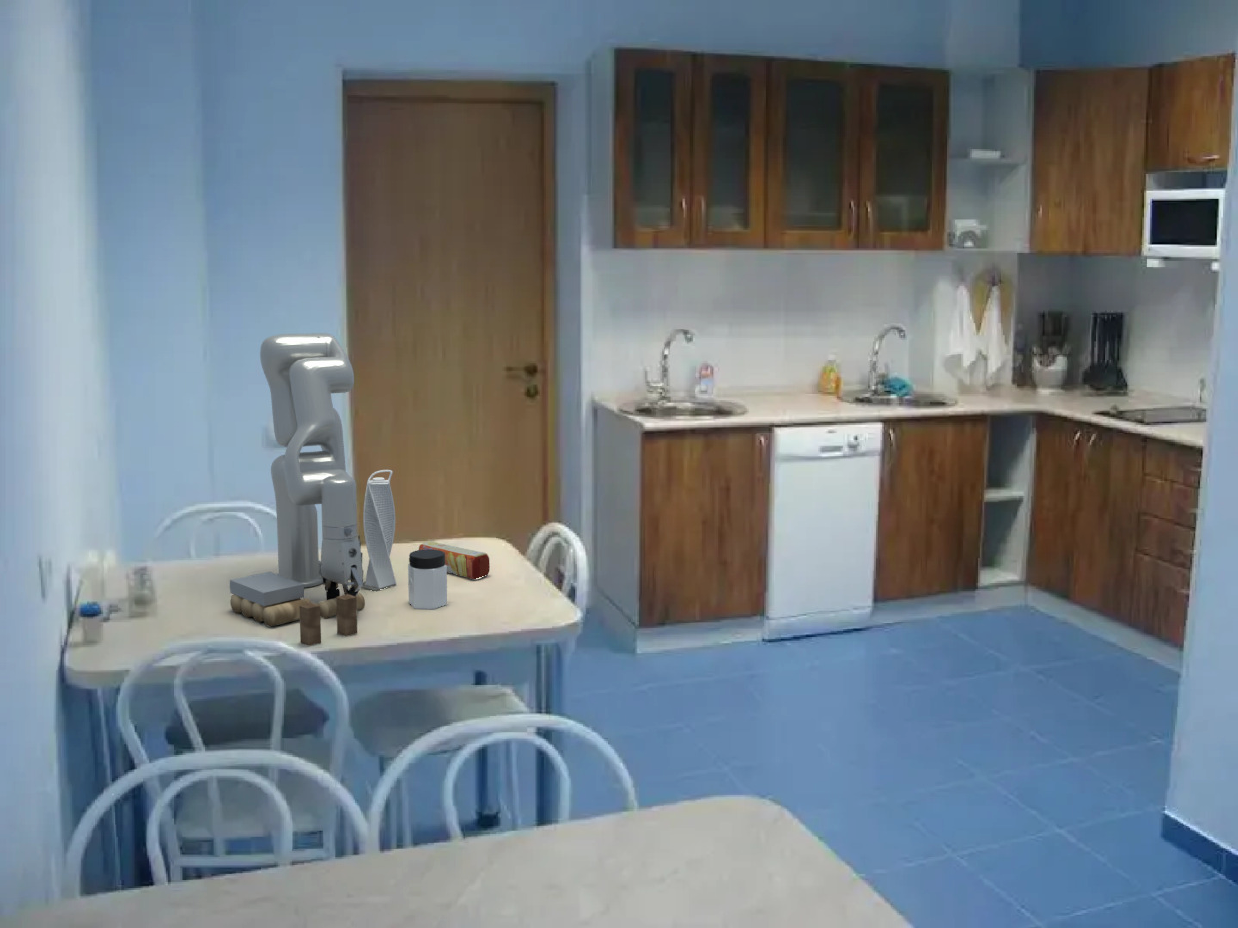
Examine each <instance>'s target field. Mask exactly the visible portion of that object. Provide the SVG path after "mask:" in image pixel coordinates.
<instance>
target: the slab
mask: <svg viewBox="0 0 1238 928" xmlns="http://www.w3.org/2000/svg"><path fill="white" fill-rule="evenodd" d="M277 574H278V573H274V572H272V571H266V572H262V573H256V574H253V575H247V576H242V577H238V578H232V579H229V593H230V594H232V595H237V596H239V597H242V598H244V599H247V600H249V601H252V602H254V603H257V604H259V605H262V606H268V605H272V604H276V603H281V602H285V601H289V600H294V599H298V598H300V599H301V598H302V599H304V597H305V588H304V584H302V583H299V582H297V581H294V580H291V579H288V578H285V577H283V576H280V575H277Z"/></svg>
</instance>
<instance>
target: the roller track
mask: <svg viewBox="0 0 1238 928" xmlns="http://www.w3.org/2000/svg"><path fill="white" fill-rule="evenodd" d="M229 602H230V607H231V609H232V612H234V613H236V614H238V613H239V614H240V613H242V615H243V616H244V617H245V618H246V619H247V618H253V619H254V621H255V622H257V623H261V622H264V624H265V625H266V626H267V627H269V628H270V627H274V626H278V625H283V624H287V623H291V622H295V621H300V607H299V605H304V604H308V603H313V602H312V601H311V599H310V598H308V597H307V598H302V599H301V598H298V599H294V600H289V601H285V602H281V603H276V604H272V605H268V606H262V605H259V604H257V603H254V602H252V601H249V600H247V599H244V598H242V597H239V596H237V595H234V594H232V595H231V596H230V599H229Z"/></svg>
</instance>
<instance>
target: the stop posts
mask: <svg viewBox="0 0 1238 928" xmlns="http://www.w3.org/2000/svg"><path fill="white" fill-rule="evenodd" d="M336 603H337V615H336V632H337V633H336V634H338V635H340V636H344V637H348V636H352V635H356V634H358V610H357V597H355V596H352V595H349V594H347V595H344V594H343V595H340V596H338V597H336ZM299 607H300V620H299V632H300V643H301V644H303V645H305V646H308V647H310V646H314V645H318V644H321V643H322V629H321V627H322V626H321V623H322V622H321V617H320V605H318V603H314V602H312V603H308V604H304V605H299Z"/></svg>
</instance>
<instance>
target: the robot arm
mask: <svg viewBox="0 0 1238 928" xmlns="http://www.w3.org/2000/svg"><path fill="white" fill-rule="evenodd" d="M259 355H260V356H259V357H260V364H261V368H262V371H263V374H264V377H265V378H266V381H267V383H268V386H269V391H270V397H271V399H270V400H271V409H272V411H271V412H272V423H273V431H274V432H273V433H274V437H275V441H276V442H277V444H278V445H279V446H281V447H284V448H286V449H285V452H284V454H281V455H279V456H277V457H276V458H275V459H274V460H273V461H272V463H271V467H270V475H271V481H272V487H273V490H274V496H275V497H274V498H275V510H276V531H277V533H276V534H277V535H276V537H277V559H278V560H277V562H278V566H277V567H278V573H276V574H277V575H280V576H283V577H285V578H288V579H291V580H294V581H297V582H299V583H302V584H304V589H305V588H310V587H311V588H312V587H316V586H319V585H322V584H323V585H324V590H325V593H326V594H325V595H326V596H325V597H326V600H329V599H334V598H336V597H338V596H341V593H340V588H338V587H339V584H340V585H341V586H342V590H343V595H347V594H349V595H352V596H355V597H356V596H357V595H358V593H360V592H359V591H360V590H361V589H362V588H361V587H362V586H363V582H364V569H362V568H363V556H362V557H361V552H362V550H360V544H359V540H358V523H357V522H358V521H357V519H358V518H357V516H358V515H357V483H356V480H355V479H354V478H353V477H352V476H350V475H349V474H348V472H347V468H346V456H345V454H346V453H345V445H344V443H345V442H344V431H343V425H342V419H341V416H340V414H339V412H338V411H337V410H336V408H334V406H333V399H332V394H342V393H343V394H345V393H346V394H347V393H348V392H350V391H352V389H353V387H354V384H355V373H354V369H353V366H352V363H351V361H350V359H349V357H348V355H347V353H346V352H345V350H344V349H343V347H342V346H341V344H340V343H339V341H338V339H337V338H336V337H335V336H334V335H332V334H330V333H323V332H322V333H320V332H319V333H318V332H317V333H311V332H310V333H283V334H277V335H271V336H269V337H267V338H265V339H264V340H263V341H262V342H261V345H260V353H259ZM313 446H314V447H315V446H320V448H321V450H317V451H315V450H314V451H304V452H303V451H302V448H303V447H313ZM301 451H302V452H301ZM316 505H321V530H322V531H321V533H322V535H321V536H322V537H321V538H322V540H321V547H320V548H321V549H320V550H321V551H320V555H319V530H318V529H319V525H318V523H319V522H318V521H319V520H318V510H317V507H316ZM319 556H320V557H319ZM362 580H363V582H362ZM349 581H350V582H349ZM348 586H350V587H348Z"/></svg>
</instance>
